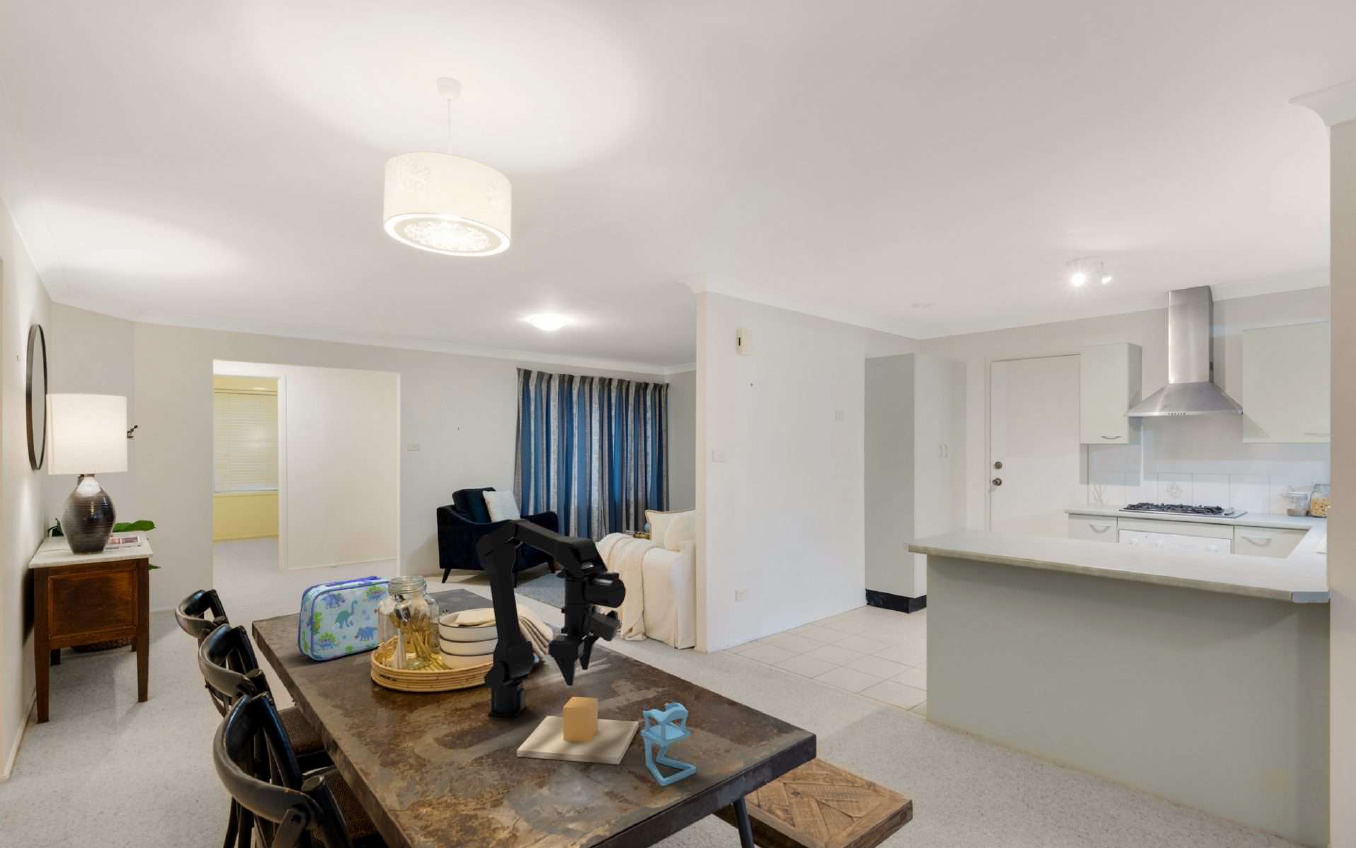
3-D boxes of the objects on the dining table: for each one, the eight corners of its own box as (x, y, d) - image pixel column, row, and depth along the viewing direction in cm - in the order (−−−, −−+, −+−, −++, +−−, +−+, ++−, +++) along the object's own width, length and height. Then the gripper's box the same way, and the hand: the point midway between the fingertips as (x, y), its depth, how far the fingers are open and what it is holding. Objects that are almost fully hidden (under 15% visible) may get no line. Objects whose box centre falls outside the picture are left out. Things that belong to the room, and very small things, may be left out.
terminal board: (517, 756, 124) (517, 728, 124) (547, 721, 140) (547, 697, 140) (619, 764, 121) (618, 735, 121) (638, 727, 136) (638, 702, 137)
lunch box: (385, 637, 203) (385, 569, 204) (402, 643, 197) (403, 573, 197) (294, 659, 183) (295, 583, 184) (310, 666, 176) (311, 588, 177)
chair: (668, 756, 124) (667, 692, 124) (696, 772, 117) (696, 705, 118) (635, 769, 119) (634, 702, 119) (663, 787, 112) (662, 716, 113)
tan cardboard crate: (563, 740, 128) (563, 707, 128) (572, 728, 133) (572, 696, 134) (589, 742, 127) (589, 709, 127) (597, 730, 132) (597, 698, 133)
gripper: (602, 614, 124) (602, 697, 124) (627, 592, 142) (627, 665, 142) (547, 611, 126) (546, 693, 126) (579, 590, 144) (578, 661, 144)
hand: (577, 677), depth 134 cm, fingers open, 9 cm apart
